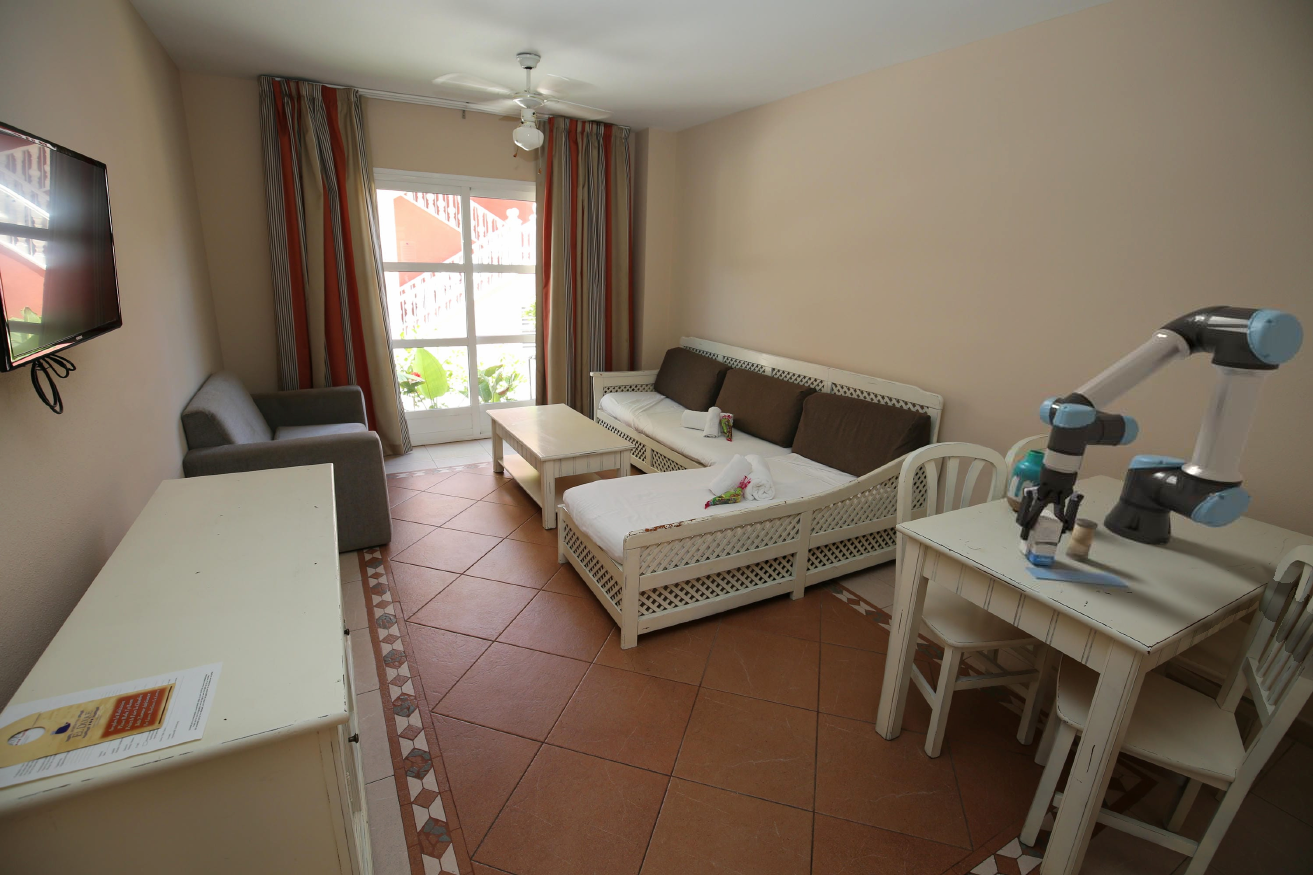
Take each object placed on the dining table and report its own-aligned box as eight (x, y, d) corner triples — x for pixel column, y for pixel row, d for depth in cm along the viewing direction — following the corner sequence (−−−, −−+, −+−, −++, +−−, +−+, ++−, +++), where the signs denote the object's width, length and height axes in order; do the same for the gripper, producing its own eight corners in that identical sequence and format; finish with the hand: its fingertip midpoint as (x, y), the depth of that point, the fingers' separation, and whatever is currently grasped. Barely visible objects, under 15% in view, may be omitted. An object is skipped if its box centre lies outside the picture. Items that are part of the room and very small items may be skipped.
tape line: (1113, 575, 143) (1114, 574, 142) (1127, 586, 138) (1128, 585, 138) (1025, 567, 144) (1025, 566, 144) (1036, 578, 139) (1036, 577, 139)
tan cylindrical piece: (1079, 553, 153) (1090, 519, 150) (1090, 562, 149) (1102, 527, 146) (1061, 551, 153) (1072, 517, 150) (1072, 560, 149) (1083, 525, 146)
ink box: (1052, 566, 144) (1065, 523, 141) (1030, 563, 145) (1043, 521, 142) (1038, 550, 152) (1050, 509, 149) (1017, 547, 153) (1028, 507, 150)
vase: (1005, 501, 185) (1019, 444, 180) (1044, 510, 180) (1060, 452, 174) (1001, 511, 177) (1016, 452, 171) (1041, 521, 171) (1059, 460, 166)
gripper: (1089, 465, 144) (1064, 548, 151) (1013, 459, 146) (992, 542, 153) (1109, 476, 137) (1082, 563, 144) (1029, 469, 138) (1006, 556, 145)
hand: (1036, 552), depth 148 cm, fingers closed on ink box, 5 cm apart
